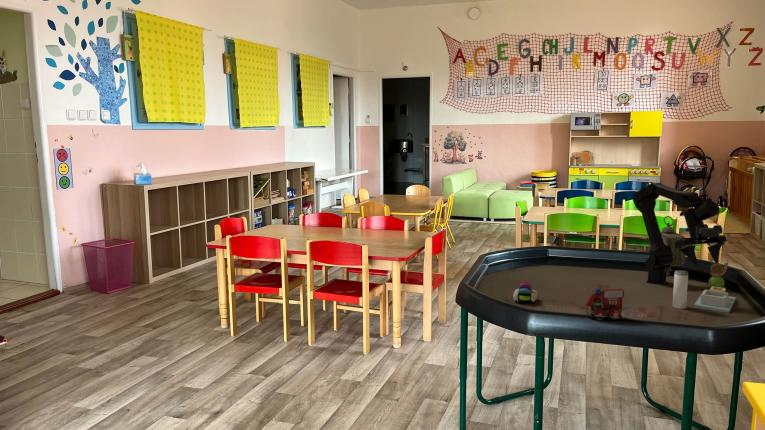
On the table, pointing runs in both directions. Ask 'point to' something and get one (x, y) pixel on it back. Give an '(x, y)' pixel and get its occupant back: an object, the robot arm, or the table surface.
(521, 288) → the multicoloured small toy
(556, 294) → the table surface
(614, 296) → the toy fire truck
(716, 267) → the snail figurine
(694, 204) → the robot arm
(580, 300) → the table surface
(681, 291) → the white cylinder
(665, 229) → the tabletop clock
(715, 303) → the fitting board
